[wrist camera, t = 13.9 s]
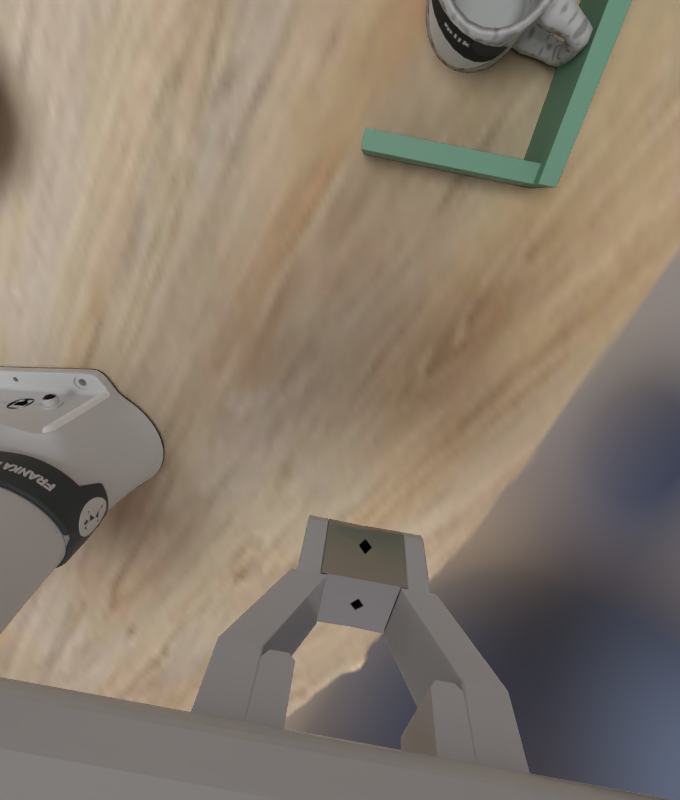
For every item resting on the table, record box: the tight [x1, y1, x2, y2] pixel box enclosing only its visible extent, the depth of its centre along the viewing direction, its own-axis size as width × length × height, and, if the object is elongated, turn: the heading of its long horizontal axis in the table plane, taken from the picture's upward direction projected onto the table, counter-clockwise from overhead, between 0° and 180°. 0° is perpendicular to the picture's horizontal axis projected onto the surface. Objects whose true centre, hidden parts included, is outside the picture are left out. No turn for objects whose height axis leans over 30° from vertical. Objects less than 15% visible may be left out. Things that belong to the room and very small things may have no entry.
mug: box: [426, 0, 593, 73], centre depth 22 cm, size 10×7×7 cm
